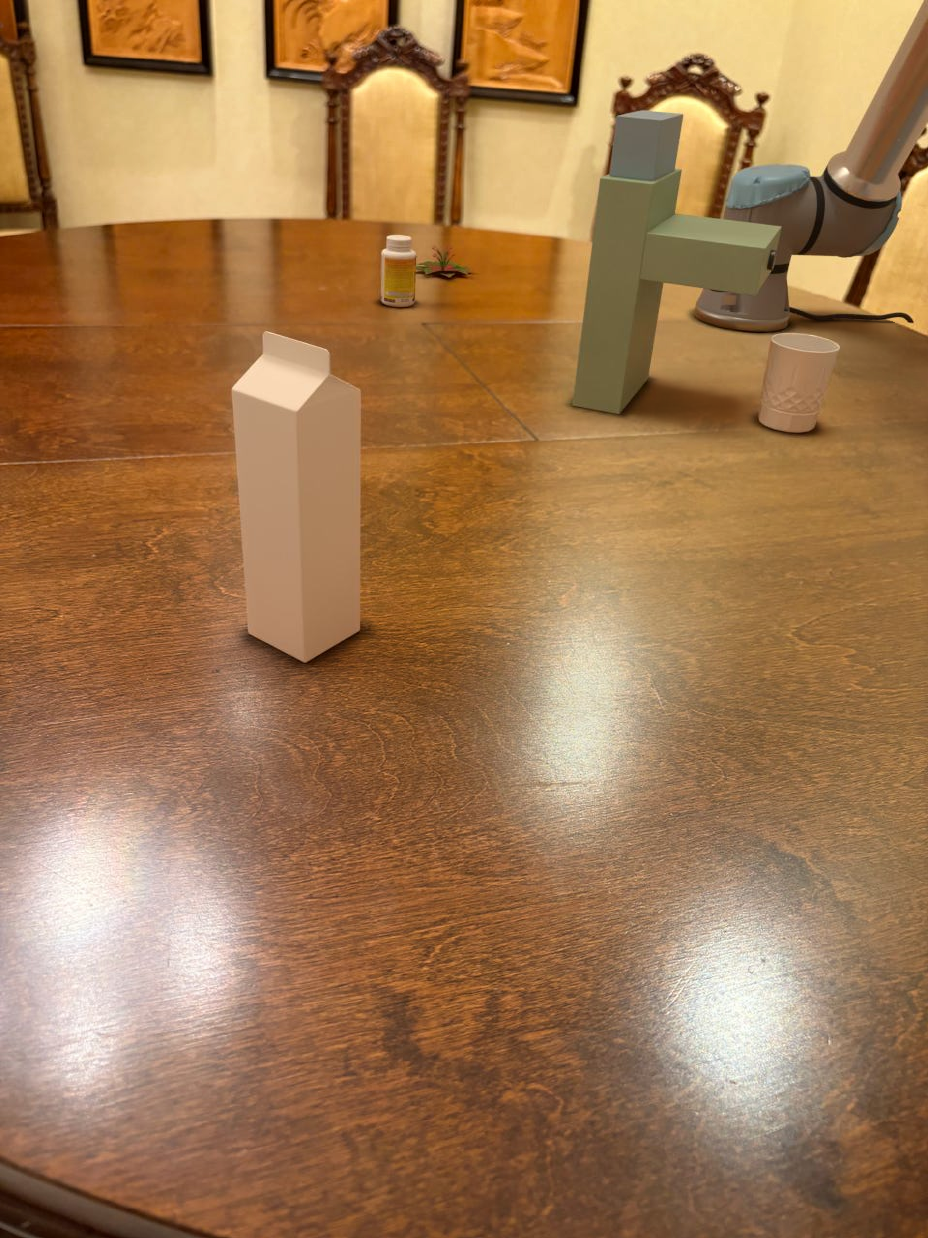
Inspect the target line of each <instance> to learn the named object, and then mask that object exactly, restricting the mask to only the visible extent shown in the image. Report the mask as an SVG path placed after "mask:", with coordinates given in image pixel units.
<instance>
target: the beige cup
mask: <svg viewBox="0 0 928 1238" xmlns="http://www.w3.org/2000/svg"><path fill="white" fill-rule="evenodd" d="M840 350H841V346H840V345H839V343H837V342H836V341H833V340H831V339H828V338H826V337H822V336H819V335H813V334H809V333H799V332H783V333H782V332H781V333H777V334H773V335H772V336H771V337H770V340H769V346H768V351H767V358H766V363H765V370H764V373H763V374H764V375H763V379H762V380H763V381H762V388H761V393H760V399H761V400H760V404H759V410H758V414H757V415H758V416H757V419H758V422H759V423H761V425H763V426H764V427H768V428H770V429H773V430H776V431H782V432H785V433H794V434H795V433H807V432H810V431H812V430H813V429H814V428H815V427H816V423H817V419H818V417H819V413H820V409H821V407H822V405H823V403H824V401H825V398H826V393H827V391H828V388H829V385H830V381H831V379H832V375H833V372H834V370H835V365H836V362H837V360H838V359H837V358H838V356H839V353H840Z"/></svg>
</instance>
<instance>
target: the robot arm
mask: <svg viewBox="0 0 928 1238" xmlns="http://www.w3.org/2000/svg"><path fill="white" fill-rule="evenodd" d="M927 125H928V0H923V2H922V3H921V5H920V7H919V9H918V11H917V13H916V15H915V16H914V18H913V20H912V23H911V25H910V26H909V29H908V30H907V32H906V33H905V36H904V38H903V40H902V42H901V43H900V45H899V47H898V49H897V51H896V53H895V55H894V57H893V59H892V61H891V63H890V65H889V67H888V69H887V70H886V73H885V75H884V77H882V79H881V82H880V84H879V86H878V88H877V89H876V92H875V94H874V96H873V97H872V99H871V101H870V103H869V105H868V107H867V109H866V111H865V113H864V115H863V117H862V119H861V120H860V122H859V124H858V127H857V128H856V131H854V134H853V136H852V138H851V140H850V141H849V143H848V145H847V147H846V149H845V150H844V151H840V152H839V153H838V152H837V153H836V154H834V155H832V156H831V158H830V159H829V161H828V163H827V165H825V168H824V170H823V172H822V174H821V175H820V176H812V175H811V170H810V169H809V168H808V167H807V166H803V165H799V164H779V163H777V164H763V165H754V166H749V167H745V168H742V169H740V170H738V171H737V172H736V173H735V174H734V175H733V176H732V178H731V180H730V183H729V187H728V190H727V195H726V198H725V200H724V211H723V216H722V219H725V220H733V221H741V222H749V223H757V224H765V225H773V226H781V227H782V228H781V233H780V238H779V242H778V247H777V255H776V260H775V264H774V267H773V270H772V271H771V272H770V274H769V275H768V277H767V279H766V280H765V282H764V283H763V285H762V286H761V288H760V289H759V291H758V292H757V294H756V296H752V295H745V294H738V293H731V292H715V291H711V290H709V289H704V288H702V290H701V292H700V294H699V296H698V298H697V300H696V302H695V307H694V312H693V314H694V316H695V318H697V319H698V320H700V321H702V322H704V323H707V324H709V325H712V326H716V327H720V328H725V329H731V330H736V331H744V332H774V331H780V330H783V329H785V328H787V327H788V324H789V321H790V316H791V314H793V315H797V316H801V317H803V318H806V319H809V320H812V321H813V320H814V321H829V320H839V319H840V320H841V319H846V320H847V319H848V320H849V319H850V320H863V321H865V320H866V321H884V320H889V319H895V318H902V319H903V320H905V321H906V322H907V323H909V324H915V321H914V320H913V318H912V317H911V315H909V314H907V313H905V312H900V311H898V312H897V311H896V312H890V313H886V314H885V313H884V314H860V313H832V314H821V315H820V314H814V313H810V312H807V311H804V310H801V309H798V308H795V307H792V306H790V299H789V298H790V297H789V288H788V273H789V268H790V263H791V260H792V259H791V258H792V256H811V257H813V256H814V257H838V258H843V259H846V258H853V257H865V256H868V255H872V254H873V253H876V251H877V252H878V251H879V250H880V249H881V248H882V247H883V246H884V245H885V244H886V243H887V242H888V241H889V239H890V238H891V237H892V235H893V233H894V231H896V229H897V225H898V223H899V220H900V217H899V216H898V215H899V213H901V211H902V206H903V199H902V193H901V188H902V187H901V186H902V184H901V183H902V182H901V179H900V176H899V173H900V171H901V169H902V168H903V166H904V165H905V162H906V161H907V159H908V158H909V155H910V154H911V152H912V150H913V149H914V147H915V145H916V144H917V142H918V141H919V138H920V137H921V136H922V134H923V132H924V130H925V128H926V126H927Z"/></svg>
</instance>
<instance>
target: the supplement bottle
mask: <svg viewBox="0 0 928 1238" xmlns="http://www.w3.org/2000/svg"><path fill="white" fill-rule="evenodd" d="M412 242H413V241H412V236H408V235H403V234H391V235H387V236H386V242H385V244H386V246H385V248H383V249H382V250H381V253H380V301H381V303H382V304H383V305H385V306H387V307H394V308H407V307H411V306H413V305H414V304H415V301H416V278H417V276H416V275H417V272H416V271H417V270H416V266H417V252H416V251H415V250H414V249H413V248H412V246H413V243H412Z"/></svg>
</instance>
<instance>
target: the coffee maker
mask: <svg viewBox="0 0 928 1238" xmlns="http://www.w3.org/2000/svg"><path fill="white" fill-rule="evenodd" d="M615 118H616V119H615V125H614V126H615V127H614V134H613V136H614V137H613V143H612V149H611V150H612V152H611V159H610V167H609V174H606V175H604V176H601V177H600V178H599V182H598V183H599V184H598V192H597V201H596V209H595V218H594V224H593V233H592V241H591V250H590V259H589V266H588V274H587V284H586V293H585V299H584V307H583V316H582V324H581V331H580V332H581V333H580V340H579V347H578V348H579V349H578V355H577V357H578V358H577V363H576V374H575V382H574V389H573V398H572V406H573V407H579V408H583V409H588V410H593V411H594V410H595V411H598V412H599V411H600V412H605V413H610V414H616V415H620V414H621V413H622V412H623V410H624V409H625V408H626V407H627V405H628V404H629V403H630V402H631V400H632V399H633V398H634V397H635V395H636V394H637V393H638V392H639V390H640V389H641V388H642V387H643V385H645V383H646V382H647V381H648V380H649V375H650V369H651V363H652V357H653V350H654V345H655V337H656V333H657V326H658V321H659V320H658V319H659V313H660V307H661V301H662V295H663V288H664V284H668V285H669V284H671V285H677V286H683V287H692V288H696V289H697V288H698V289H703V288H704V289H709V290H711V291H715V292H731V293H738V294H745V295H752V296H756V294H757V292H758V291H759V289H760V288H761V286H762V285H763V283H764V282H765V280H766V279H767V277H768V275H769V274H770V272H771V271H772V270H773V267H774V264H775V260H776V255H777V247H778V242H779V238H780V233H781V228H782V227H781V226H773V225H765V224H757V223H749V222H741V221H733V220H725V219H723V218H715V217H709V216H699V215H691V214H683V213H677V212H676V209H677V203H678V197H679V191H680V185H681V184H680V183H681V177H682V173H683V172H682V171H683V169H682V168H676V164H677V159H678V151H679V146H680V140H681V139H680V138H681V134H682V127H683V121H684V114H683V113H675V112H663V111H654V110H643V109H641V110H637V111H632V112H629V113H624V114H620V115H617V116H616V117H615Z"/></svg>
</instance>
